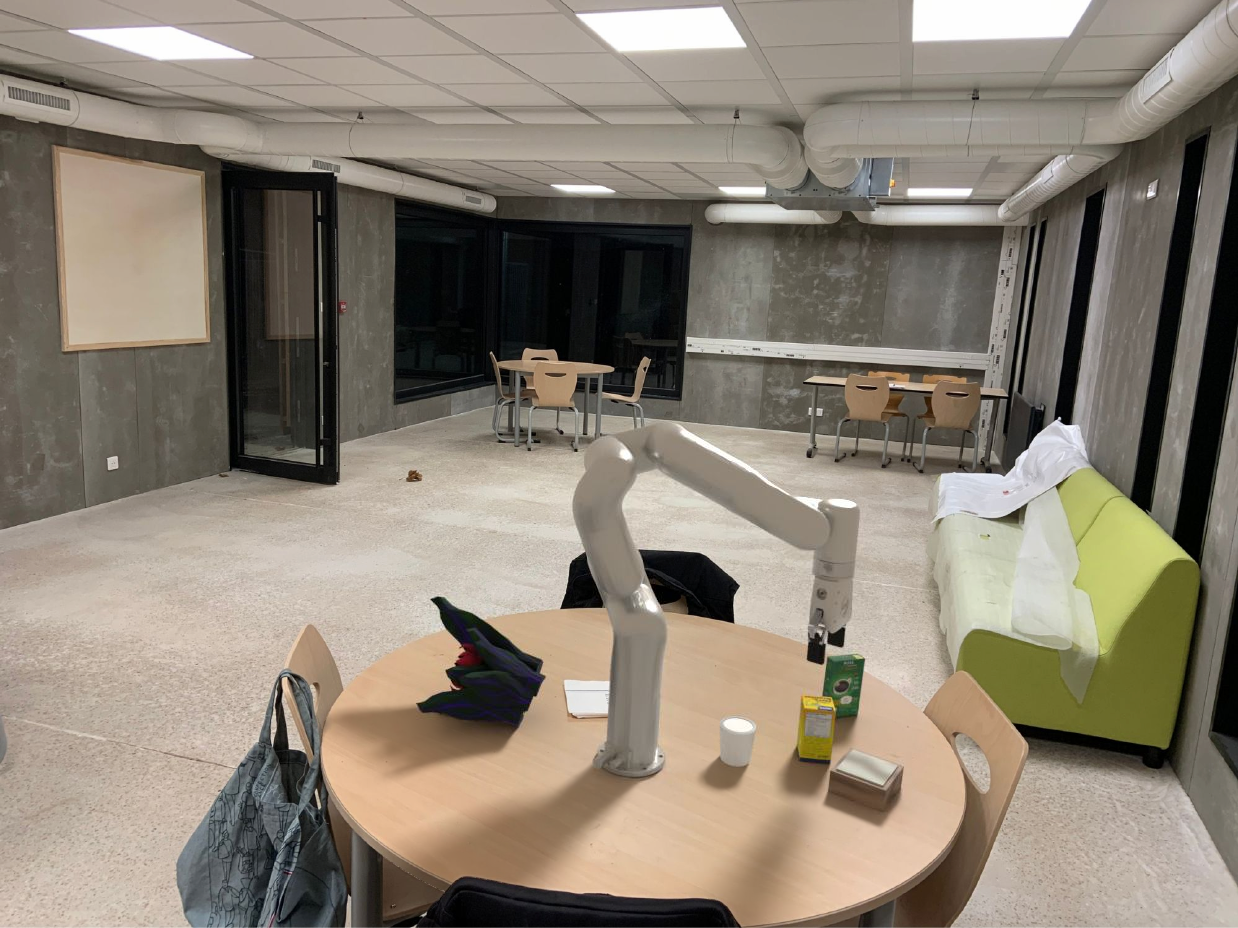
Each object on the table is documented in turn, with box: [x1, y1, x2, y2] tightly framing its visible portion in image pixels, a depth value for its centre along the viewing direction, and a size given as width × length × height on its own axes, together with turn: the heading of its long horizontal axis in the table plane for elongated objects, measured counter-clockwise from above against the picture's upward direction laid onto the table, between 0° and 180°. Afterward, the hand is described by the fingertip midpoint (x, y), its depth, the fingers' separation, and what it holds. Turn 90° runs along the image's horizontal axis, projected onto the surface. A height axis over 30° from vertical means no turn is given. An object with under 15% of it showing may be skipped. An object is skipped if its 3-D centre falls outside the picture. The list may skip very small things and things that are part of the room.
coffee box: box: [821, 653, 866, 719], centre depth 184 cm, size 8×3×13 cm, turn 110°
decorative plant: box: [415, 596, 546, 728], centre depth 178 cm, size 21×26×30 cm
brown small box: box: [827, 747, 905, 812], centre depth 158 cm, size 10×10×4 cm
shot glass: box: [719, 715, 758, 768], centre depth 166 cm, size 7×7×7 cm
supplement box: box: [796, 694, 836, 764], centre depth 168 cm, size 6×6×11 cm
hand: (825, 653), depth 165 cm, fingers open, 9 cm apart
